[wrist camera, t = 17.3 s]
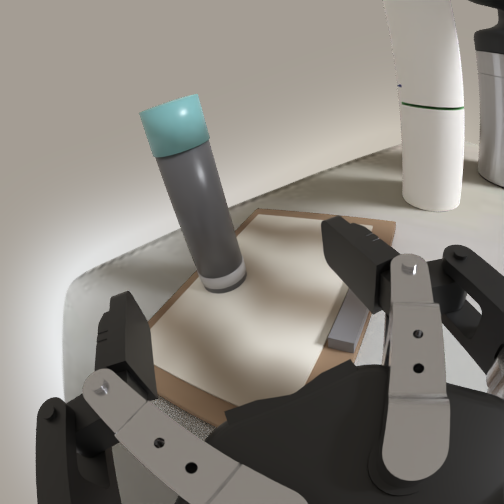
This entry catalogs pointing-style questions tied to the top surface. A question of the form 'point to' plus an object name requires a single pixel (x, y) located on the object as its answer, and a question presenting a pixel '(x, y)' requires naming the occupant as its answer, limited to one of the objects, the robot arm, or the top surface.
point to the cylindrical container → (428, 101)
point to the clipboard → (260, 320)
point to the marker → (195, 190)
